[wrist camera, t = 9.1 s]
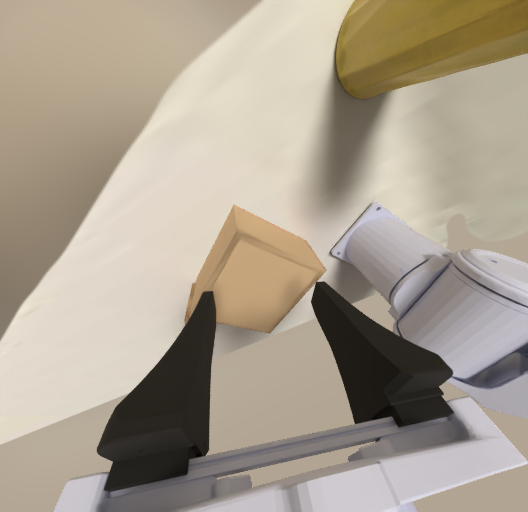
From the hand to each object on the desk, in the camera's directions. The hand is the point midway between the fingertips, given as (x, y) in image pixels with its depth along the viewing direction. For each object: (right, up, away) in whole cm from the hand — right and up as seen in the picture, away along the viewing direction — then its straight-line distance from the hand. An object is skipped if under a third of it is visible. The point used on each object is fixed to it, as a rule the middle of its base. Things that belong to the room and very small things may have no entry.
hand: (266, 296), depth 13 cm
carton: (-2, +2, +11) cm, 11 cm away
